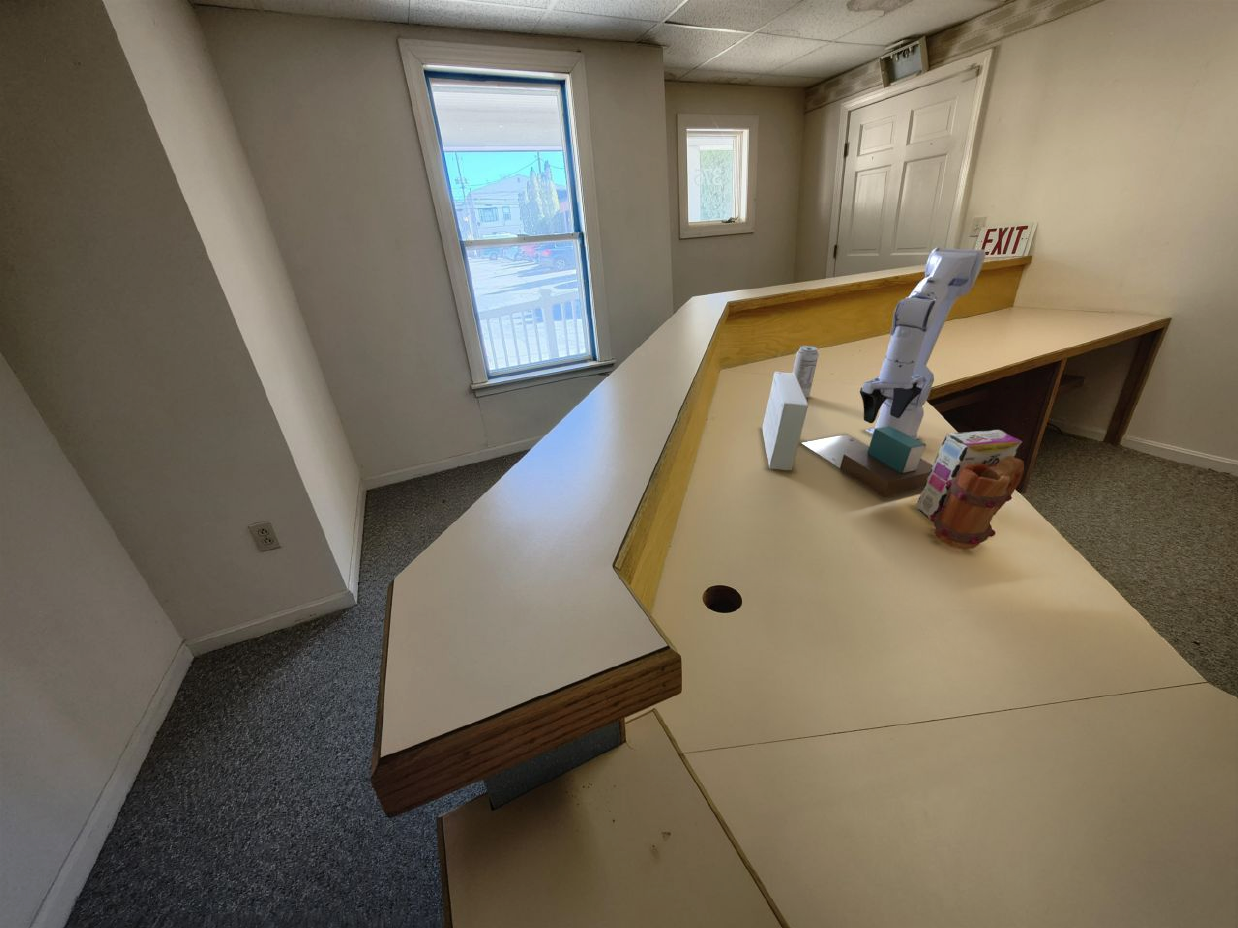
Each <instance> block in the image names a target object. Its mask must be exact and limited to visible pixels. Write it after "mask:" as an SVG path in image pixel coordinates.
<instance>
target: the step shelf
mask: <svg viewBox="0 0 1238 928" xmlns="http://www.w3.org/2000/svg"><path fill="white" fill-rule="evenodd" d="M801 444H802V445H803V446H804V447H806V448H808V449H810V450H811V451H812V452H814V453H815V454H817V455H819V456H820V457H822V458H823V459H824V460H826V461H828V462H829V463H831V464H832V465H833V466H835V467H837V468H838V469H840V470H841V471H843V472H845V474H847V475H848V476H851V477H852V478H853V479H855V480H857V481H858V482H859V483H861V484H863V486H864V485H865V487H867V488H869V489H870V490H872V491H873V492H875V493H876V494H878V495H880V496H881V497H882V498H886V497H890V496H894V495H899V494H901V493H902V494H903V493H907V492H910V491H914V490H918V489H923V488H924V486H925V483H926V481H927V478H928V476H929V474H930V472H931V469H932V467H933V464H932V463H930V462H928V461H926V460H924V459H922V458H921V459H920V461H919V464H918V467H917V469H916V470H914V471H910V472H905V473H900V472H898V471H897V470H895V469H893V468H891V467H890V466H888V465H886V464H885V463H883V462H881V461H880V460H878V459H876V458H875V457H873V456H871V455H869V454H868V453H867V452H868V449H869V446H868V445H866V444H865V443H863V442H861V441H860V440H858V439H856V438H855V437H852V436H850V435H849V434H847V433H846V434H840V435H835V436H830V437H825V438H820V439H815V440H810V441H803V442H801Z"/></svg>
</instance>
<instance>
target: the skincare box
mask: <svg viewBox="0 0 1238 928" xmlns="http://www.w3.org/2000/svg"><path fill="white" fill-rule="evenodd" d="M807 401H808V400H807V399H805V397H804V394H803V392H802V390H801V387H800V385H799V383H798V380H797V378H796V376H795V374H794V373H793V372H781V371H774V372H773V377H772V383H771V387H770V391H769V396H768V401H767V404H766V411H765V415H764V420H763V423H762V424H763V425H762V429H761V430H762V435H763V441H764V447H765V452H766V457H767V463H768V469H771V470H779V471H780V470H781V471H792V470H793V466H794V463H795V459H796V455H797V451H798V446H799V443H800V440H801V439H800V438H801V435H802V431H803V428H804V423H805V419H806V416H807V412H808V408H809V403H808V402H807Z"/></svg>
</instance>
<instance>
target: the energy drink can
mask: <svg viewBox="0 0 1238 928" xmlns="http://www.w3.org/2000/svg"><path fill="white" fill-rule="evenodd" d="M818 349H819V348H818V347H816V346H813V345H800V346H799V349H798V350H797V351H796V354H795V359H794V365H793V369H792V370H793V371H792V373H794V374H795V376H796V378H797V380H798V383H799V385H800V387H801V390H802V392H803V394H804V397H805V399H806V400H807V399H808V398H809V397H810V395H811V390H812V386H813V383H814V377H815V372H816V368H817V365H818V364H817V363H818V359H819V355H820V354H819V352H818Z"/></svg>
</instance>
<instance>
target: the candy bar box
mask: <svg viewBox="0 0 1238 928" xmlns="http://www.w3.org/2000/svg"><path fill="white" fill-rule="evenodd" d="M1022 443H1023V441H1022V440H1020V439H1019V438H1017V437H1015V436H1013V435H1011V434H1009V433H1007V432H1005V431H1004V430H1000V429H991V430H979V431H966V432H950V433H946V434H945V437H944V438H943V441H942V443H941V446H940V448H939V450H938V453H937V455H936V457H935V459H934V462H933V464H932V465H933V467H932V469H931V472H930V474H929V476H928V478H927V481H926V483H925V486H924V487H923V488H922V490H921V492H920V495H919V498H918V500H917V502H916V505H915V507H914V508H915V509H916V510H917V511H918V512H919V513H921V514H922V515H923V516H924V517H925V518H926V519H927V520H929V521H930V522H932V520H931V519H930V515H932V514H937V513H938V512H939V511H941V510H943V509H944V508H945V506H946V504H947V501H948V499H949V496H950V493H951V491H950V488H949V487H948V486H947V485H946V482H947V481H948V480H953V479H954V478H955V477H957V476H959V474H960V472H961V470H962V468H963V467H964V466H965V465H966V464H971V465H973V464H974V463H982V464H986V465H987V466H988V467H992V466H996V465H997V464H998V463H999V462H1000V461H1001V460H1003V459H1004V458H1005V457H1007V456H1013V457H1015V456H1016V455H1017V452H1018V451H1019V449H1020V447H1021V445H1022Z"/></svg>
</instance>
